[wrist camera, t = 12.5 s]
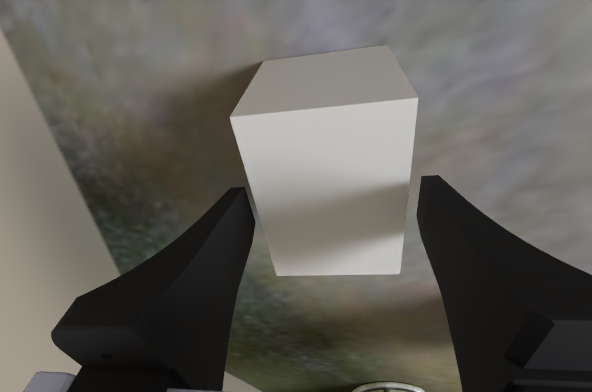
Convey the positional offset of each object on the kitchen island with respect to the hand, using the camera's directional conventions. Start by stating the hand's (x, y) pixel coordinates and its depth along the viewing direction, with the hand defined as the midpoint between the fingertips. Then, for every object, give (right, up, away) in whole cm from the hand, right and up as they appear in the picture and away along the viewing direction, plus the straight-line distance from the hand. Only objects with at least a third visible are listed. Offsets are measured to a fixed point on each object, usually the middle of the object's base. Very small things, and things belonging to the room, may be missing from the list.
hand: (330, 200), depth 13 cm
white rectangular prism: (0, +4, +5) cm, 6 cm away
